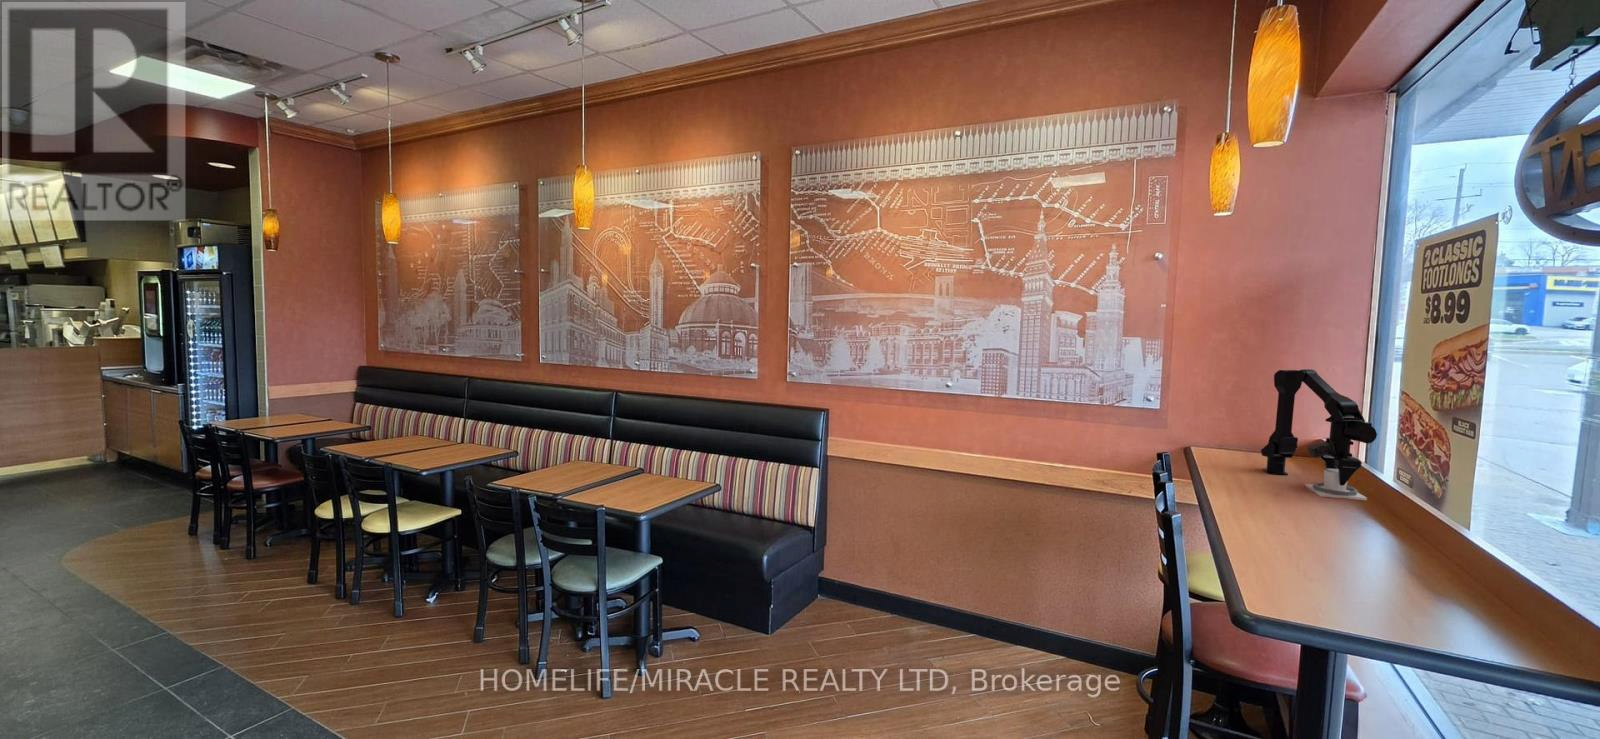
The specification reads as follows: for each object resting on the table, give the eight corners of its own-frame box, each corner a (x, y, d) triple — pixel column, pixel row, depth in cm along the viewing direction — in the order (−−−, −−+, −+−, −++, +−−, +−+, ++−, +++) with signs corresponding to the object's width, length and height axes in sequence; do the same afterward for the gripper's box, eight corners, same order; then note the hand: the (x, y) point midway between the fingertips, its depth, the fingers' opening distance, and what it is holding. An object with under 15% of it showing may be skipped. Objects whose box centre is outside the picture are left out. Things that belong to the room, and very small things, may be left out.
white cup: (1352, 493, 223) (1354, 473, 222) (1332, 493, 223) (1334, 473, 222) (1336, 487, 229) (1338, 468, 229) (1316, 487, 230) (1318, 467, 229)
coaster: (1304, 485, 234) (1305, 480, 234) (1349, 489, 230) (1349, 483, 230) (1319, 496, 222) (1320, 490, 222) (1366, 500, 218) (1367, 494, 218)
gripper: (1301, 430, 235) (1297, 472, 237) (1323, 440, 218) (1318, 486, 220) (1339, 432, 232) (1335, 475, 233) (1364, 443, 214) (1359, 490, 216)
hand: (1335, 481), depth 226 cm, fingers open, 9 cm apart
